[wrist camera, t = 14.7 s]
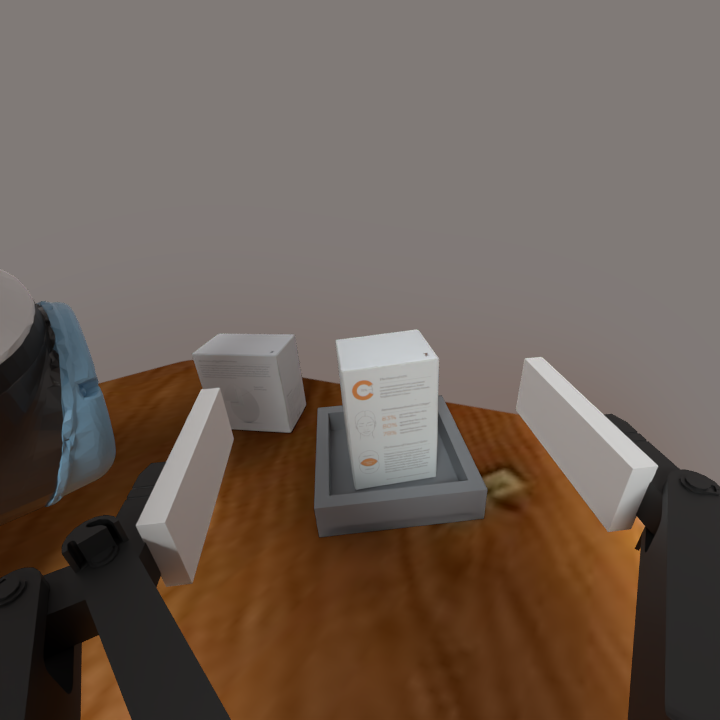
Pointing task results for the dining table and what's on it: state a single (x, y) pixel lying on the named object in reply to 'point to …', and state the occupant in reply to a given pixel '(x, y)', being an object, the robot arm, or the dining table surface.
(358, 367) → the small box
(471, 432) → the dining table surface
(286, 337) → the skincare box
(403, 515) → the tray
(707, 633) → the robot arm
